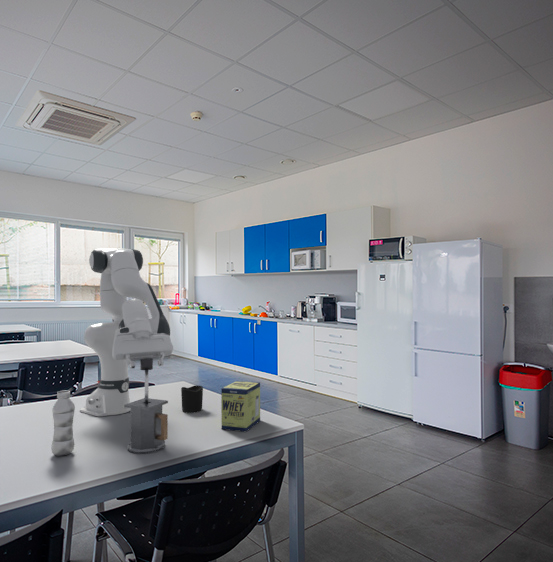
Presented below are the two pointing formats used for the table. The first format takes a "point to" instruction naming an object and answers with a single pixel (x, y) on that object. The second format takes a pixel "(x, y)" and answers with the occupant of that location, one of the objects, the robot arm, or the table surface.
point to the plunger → (146, 373)
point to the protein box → (240, 405)
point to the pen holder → (192, 399)
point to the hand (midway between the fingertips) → (147, 366)
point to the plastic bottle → (63, 424)
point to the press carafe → (147, 426)
